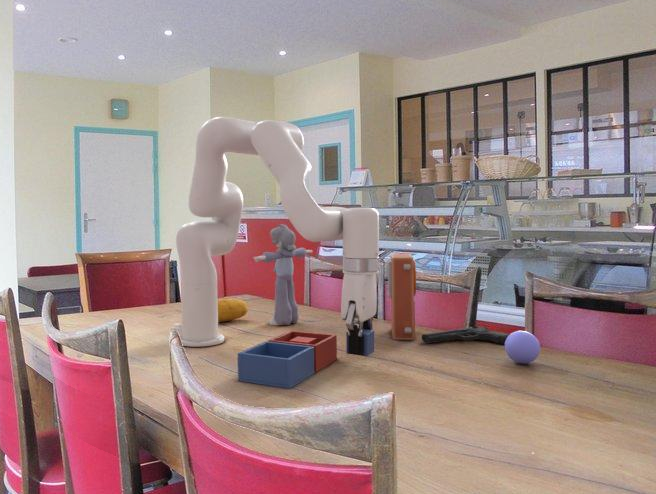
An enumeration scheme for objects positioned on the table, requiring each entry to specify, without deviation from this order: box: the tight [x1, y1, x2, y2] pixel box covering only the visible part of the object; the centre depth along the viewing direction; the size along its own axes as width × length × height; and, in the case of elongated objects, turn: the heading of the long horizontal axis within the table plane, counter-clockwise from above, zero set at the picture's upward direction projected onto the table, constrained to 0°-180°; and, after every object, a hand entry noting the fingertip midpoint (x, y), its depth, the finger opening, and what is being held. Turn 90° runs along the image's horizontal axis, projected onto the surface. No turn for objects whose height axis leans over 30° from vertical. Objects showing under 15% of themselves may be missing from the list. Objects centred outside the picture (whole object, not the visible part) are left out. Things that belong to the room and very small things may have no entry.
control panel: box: [387, 253, 417, 341], centre depth 155 cm, size 21×7×15 cm
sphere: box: [504, 330, 541, 365], centre depth 125 cm, size 7×7×7 cm
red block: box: [289, 337, 316, 345], centre depth 129 cm, size 5×5×5 cm
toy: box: [253, 223, 314, 326], centre depth 174 cm, size 30×8×30 cm, turn 144°
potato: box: [218, 298, 249, 323], centre depth 179 cm, size 8×14×7 cm, turn 108°
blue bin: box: [237, 341, 315, 389], centre depth 118 cm, size 12×12×6 cm
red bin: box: [267, 330, 338, 373], centre depth 129 cm, size 12×12×6 cm
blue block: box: [345, 329, 375, 357], centre depth 122 cm, size 5×5×5 cm
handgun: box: [421, 325, 511, 345], centre depth 145 cm, size 3×20×12 cm
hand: (360, 350), depth 122 cm, fingers closed on blue block, 4 cm apart
